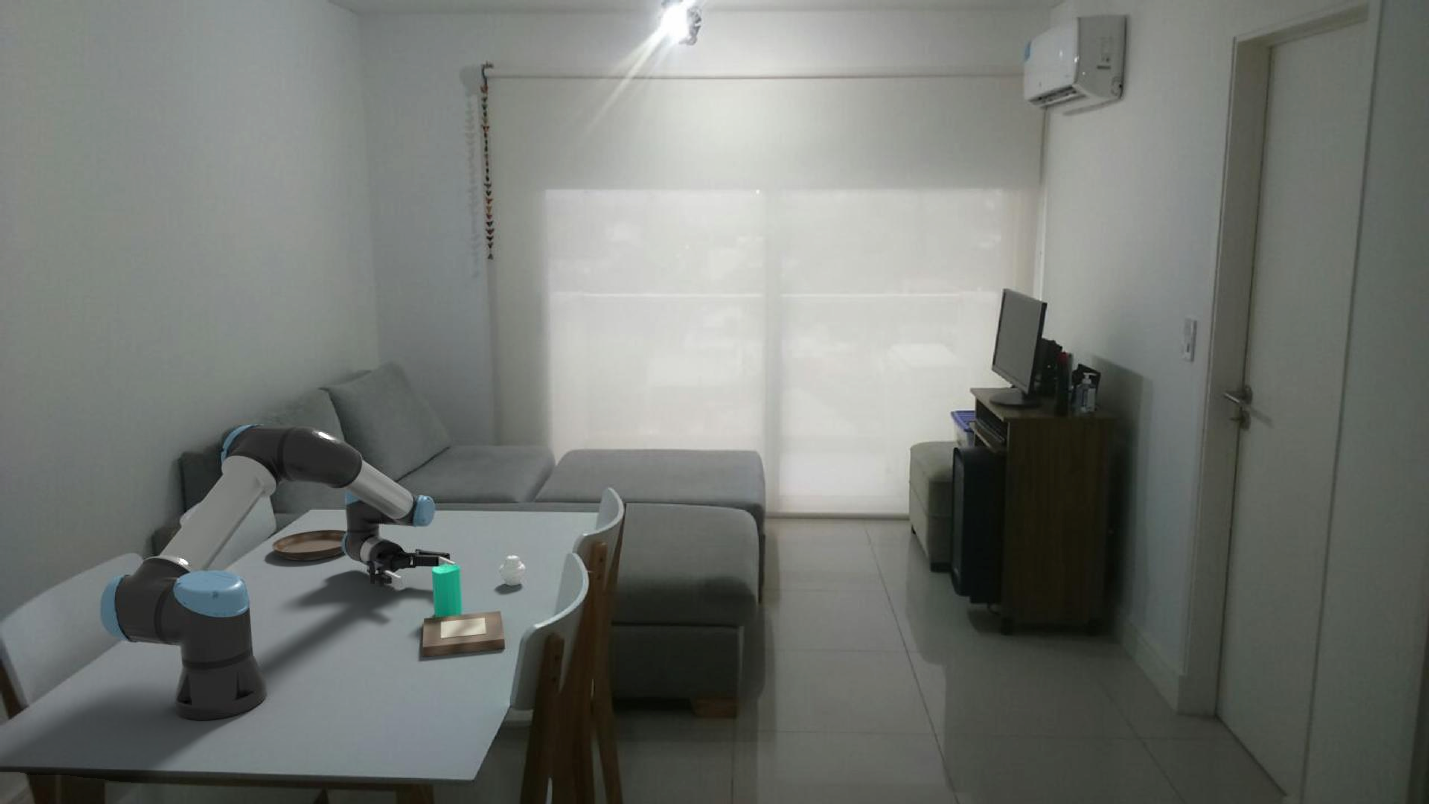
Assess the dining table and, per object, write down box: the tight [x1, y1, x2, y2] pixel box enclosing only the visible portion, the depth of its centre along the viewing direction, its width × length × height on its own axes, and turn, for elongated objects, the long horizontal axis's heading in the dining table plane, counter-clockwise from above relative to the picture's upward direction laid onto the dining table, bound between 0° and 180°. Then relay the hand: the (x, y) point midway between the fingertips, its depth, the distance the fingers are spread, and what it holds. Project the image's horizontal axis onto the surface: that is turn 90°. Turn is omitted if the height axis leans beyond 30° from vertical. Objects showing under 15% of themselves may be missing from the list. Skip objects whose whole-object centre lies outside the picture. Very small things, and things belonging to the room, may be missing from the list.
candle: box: [431, 561, 463, 617], centre depth 233 cm, size 6×6×12 cm
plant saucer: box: [271, 529, 347, 561], centre depth 280 cm, size 21×21×3 cm
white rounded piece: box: [498, 555, 526, 587], centre depth 253 cm, size 6×6×7 cm
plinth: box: [422, 610, 506, 657], centre depth 221 cm, size 16×16×2 cm
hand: (428, 576), depth 240 cm, fingers open, 13 cm apart
